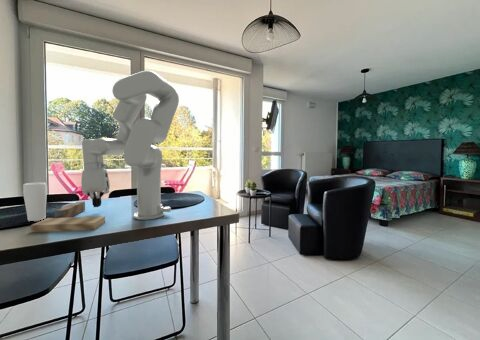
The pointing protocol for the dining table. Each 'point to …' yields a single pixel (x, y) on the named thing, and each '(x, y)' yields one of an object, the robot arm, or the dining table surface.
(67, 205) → the stop block
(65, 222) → the board
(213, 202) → the dining table surface
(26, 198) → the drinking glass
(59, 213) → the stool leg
